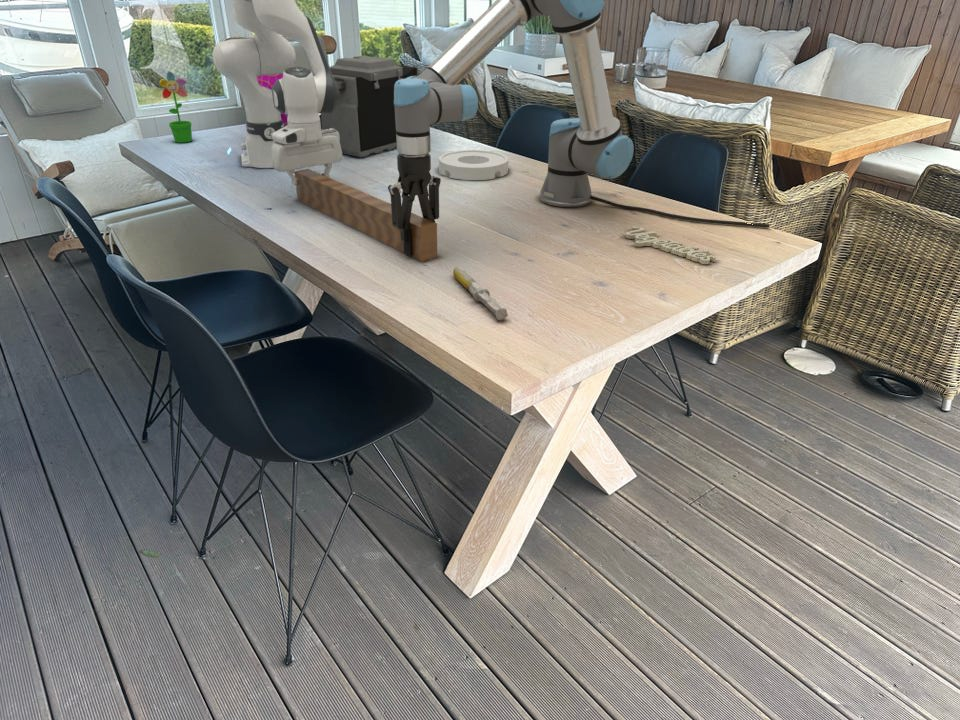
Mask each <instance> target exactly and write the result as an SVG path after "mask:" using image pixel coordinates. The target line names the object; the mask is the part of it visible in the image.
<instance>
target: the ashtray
mask: <svg viewBox="0 0 960 720" xmlns="http://www.w3.org/2000/svg"><path fill="white" fill-rule="evenodd" d="M438 172H439V173H440V175H442V176H445V177H450V179H456V180H461V181H487V180H492V179H493V180H494V179H495V178H496V177H497V178H498V177H499V178H501V177H504V176H505V175H507V174H508V172H509V157H508V156H507V155H505V154H503V153H501V152H497V151H492V150H484V149H462V150H454V151H449V152H445V153H442V154H440V156H439V157H438Z"/></svg>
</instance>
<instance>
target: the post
mask: <svg viewBox="0 0 960 720" xmlns="http://www.w3.org/2000/svg"><path fill="white" fill-rule="evenodd" d="M294 176H295V178H298V179H299V183H300V185H296V186H295V189H296V197H297V201H298V202H300V203H302V204H304V205H306V206H308V207H311V208H312V209H315V210H316V211H318V212H320V213H323V214H324V215H326V216H329V217H331V218H332V219H335V220H337V221H338V222H341V223H343V224H345V225H347V226H349V227H350V228H352V229H355V230H357V231H359V232H361V233H362V234H365V235H366V236H369V237H371V238H373V239H375V240H377V241H379V242H381V243H383V244H385V245H387V246H389V247H391V248H393V249H395V250H397V251H399V252H400V253H403V254H405V253H404V246H403V242H402V241H401V235H400V229H399V228H396V227H394V226H393V225H392V211H391V202H388V201H385V200H383V199H381V198H378V197H375V196H373V195H371V194H369V193H366V192H364V191H362V190H359V189H357V188H355V187H353V186H350V185H348V184H346V183H343V182H340V181H338V180H336V179H333V178H331V177H330V176H329V177H327V176H324V175H322V173H319V172H317V171H315V170H312V169H310V168H303V169H298V170H295V174H294ZM409 228H410V229H412V243H413V256H410V257H411V258H413V259H415V260H417V261H419V262H421V263H425V262H428V261H431V260H434V259H437V258H438V257H439V256H438V254H439V253H438V223H436V221H435V222H432V221H430V220H427V219H425V218H423V216H420V215H418V214H416V213H414V212H411V218H410V224H409Z"/></svg>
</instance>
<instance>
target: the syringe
mask: <svg viewBox="0 0 960 720" xmlns="http://www.w3.org/2000/svg"><path fill="white" fill-rule="evenodd" d="M452 274H453V277H454V279H455V280H457V281H458V282H459V283H460V285H462V287H464V289H466V290H467V291H468V293H470V295H471V296H472V298H473V300H474V302H477V303H478V302H480V303H482V304H483V305H484V306H485V307H486V308H487V309H488V310H489V311H490V312H491V313H492V314H493V315H494V316H495V317H496V320H497V321H503V320H504V319H506V318H507V317H509V314H508V310H507V308H506V307H502V306H501V305H500V303H498V302H497V301H496V300H494V299H493V298H492V297H491V296H490V295H491V293H490V290H488V289H486V288H483V287H482V286H481V285H480V284H479V283H478V282H477V281H476V280H474V278H473V277H471V275H469V274H468V273H467V272H466V270H465V269H464V268H463V267H462V266H456V267H454V268H453V271H452Z"/></svg>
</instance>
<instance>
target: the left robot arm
mask: <svg viewBox="0 0 960 720" xmlns="http://www.w3.org/2000/svg"><path fill="white" fill-rule="evenodd" d="M232 9H233V11H232V12H233V17H234V20H235V21H236V23H237V24H238V25H239V26H240V27H242V28H243V29H245V30H246V31H249V32H251V33H252V34H254V37H252V38H231V39H227V40H223V41H220V42H219V41H218V42H217V43H216V44H215V46H213V47H214V48H213V51H212V62H213V65H214V67H215V69H216V70H217V71H218V72H219V73H220V74H221V75H222V76H223V77H225V78H227V80H228V81H230V82H231V83H232V84H233V85H234V86H235V87H236V89H237V91H238V92H239V94H240V96H241V99H242V102H243V107H244V112H245V117H246V121H245V128H246V133H247V134H246V137H245V140H244V142H240V148H241V151H243V153H241V154H240V157H241V167H243V168H244V167H245V168H247V167H249V168H257V169H272V168H273V169H275V170H276V171H278V172H281V173H285V172H286V174H287V175H288V177H289V178H290V179H291V184H292V186H294V187H296V185H300V183H299V179H298V178H295V171H297V170H302V169H308V168H311V167H317V166H324V170H323V172H321V174H322V175H324V176H327V177H329V178H330V172H331V170H332V167H333V163H339V162H341V161H342V160H343V158H344V157H343V153H342V150H341V145H340V142H339V141H340V137H339V132H338V131H337V130H335V129H334V128H329V129H321V122H320V117H319V115H320V114H321V113H332V112H333V111H334V110H335V109H336V108H337V107H338V105H339V103H340V93H339V89H338V86H337V84H336V81H335V79H334V77H333V75H332V73H331V71H330V68H329V67H330V66H329V63H328V61H327V58H326V55H325V52H324V50H323V46H322V43H321V41H320V37H319V35H318V33H317V30H316V28H315V26H314V23H313V22H312V19H311V18H310V16H308V15H306V14H304V13H303V11H302V10H301V9H300V8H299V6H298V4H297V2H296V0H232ZM285 37H287V38H288V39H291V40H293V41H295V42H297V43H299V44H300V45H301V47H303V49H304V50H305V53H306V56H307V58H308V61H309V64H310V67H311V69H312V70H311V69H309V68H307V67H303V66H296V61H297V54H296V50H295V48H294V46H293V45H292V43H291V42H290V41H289V40H288V39H286V38H285ZM294 66H295V67H294ZM312 72H314V75H315V76H313V73H312ZM282 73H283V78H282V79H279V80H277V81H276V82H275V83H274V85H273V86H272V88H271V89H272V90H271V89H269V88H266V87H264V86H261V85H259V83H258V80H257V76H264V75H278V74H282ZM280 112H281V113H282V114H287V115H288V118H287V123H288V125H286V126H285V127H284V124H283V120H282V119H281V114H280ZM334 131H335V132H334ZM231 152H232V147H229V148H228V150H227V152H226V153H227V155H230V153H231Z"/></svg>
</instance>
